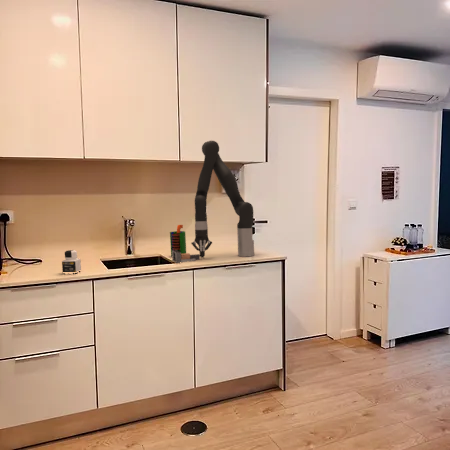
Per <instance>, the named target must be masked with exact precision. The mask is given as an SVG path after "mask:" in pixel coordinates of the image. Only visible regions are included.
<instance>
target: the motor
mask: <svg viewBox="0 0 450 450" xmlns="http://www.w3.org/2000/svg"><path fill="white" fill-rule="evenodd" d="M183 226H184V225H183V224H177V227H176V231H170V232H169V237H170V238H169V239H170V241H169V242H170V257H171V258H172V250H177V251H179V252H181V254H185V253H187V242H186V241H187V240H186V238H187V237H186V231H184V230H183V231H182V230H181V229H183Z"/></svg>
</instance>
